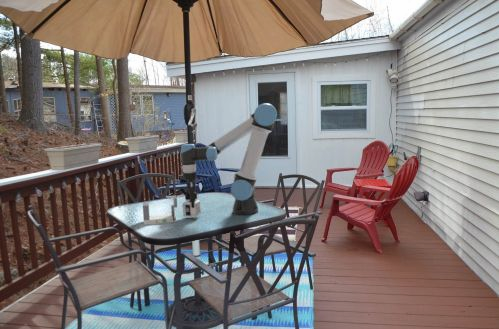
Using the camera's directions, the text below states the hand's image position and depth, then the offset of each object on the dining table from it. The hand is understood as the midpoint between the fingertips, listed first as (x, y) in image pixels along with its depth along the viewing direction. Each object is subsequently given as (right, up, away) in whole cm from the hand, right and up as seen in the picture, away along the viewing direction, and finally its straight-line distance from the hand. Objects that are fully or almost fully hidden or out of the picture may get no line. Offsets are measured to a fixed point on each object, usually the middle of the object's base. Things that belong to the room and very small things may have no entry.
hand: (192, 211), depth 212 cm
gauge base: (-17, -5, -4) cm, 18 cm away
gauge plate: (-9, -4, -3) cm, 10 cm away
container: (0, -2, 0) cm, 3 cm away
